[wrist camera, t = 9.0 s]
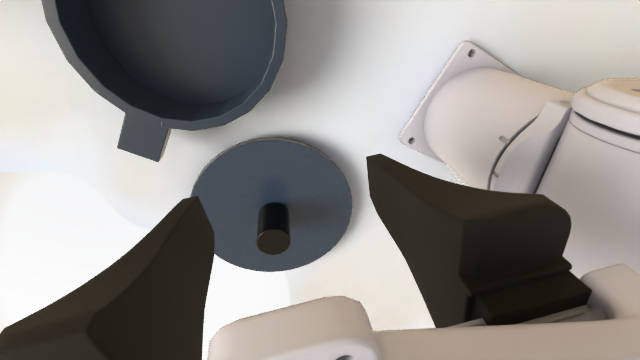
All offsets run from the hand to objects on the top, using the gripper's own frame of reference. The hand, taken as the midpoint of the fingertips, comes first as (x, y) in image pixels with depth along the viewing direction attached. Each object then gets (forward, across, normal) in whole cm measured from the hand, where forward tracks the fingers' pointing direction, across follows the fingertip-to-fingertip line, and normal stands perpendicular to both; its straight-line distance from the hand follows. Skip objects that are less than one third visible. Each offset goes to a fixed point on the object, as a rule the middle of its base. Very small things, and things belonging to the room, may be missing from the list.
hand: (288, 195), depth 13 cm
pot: (+11, +4, -7) cm, 13 cm away
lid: (+10, +2, +8) cm, 13 cm away
